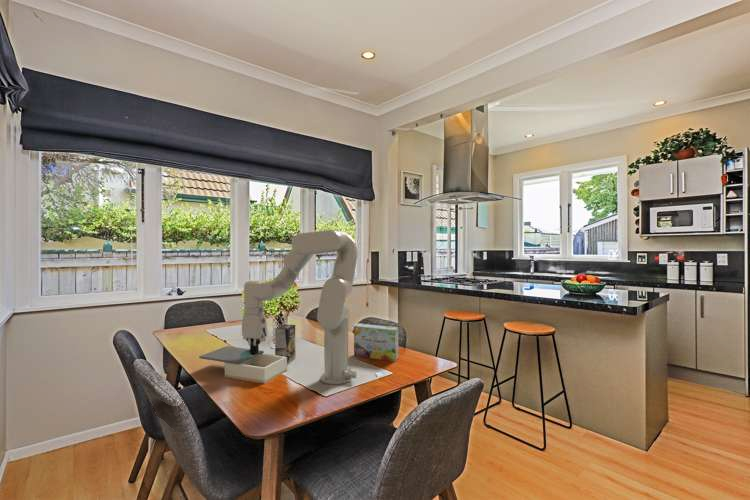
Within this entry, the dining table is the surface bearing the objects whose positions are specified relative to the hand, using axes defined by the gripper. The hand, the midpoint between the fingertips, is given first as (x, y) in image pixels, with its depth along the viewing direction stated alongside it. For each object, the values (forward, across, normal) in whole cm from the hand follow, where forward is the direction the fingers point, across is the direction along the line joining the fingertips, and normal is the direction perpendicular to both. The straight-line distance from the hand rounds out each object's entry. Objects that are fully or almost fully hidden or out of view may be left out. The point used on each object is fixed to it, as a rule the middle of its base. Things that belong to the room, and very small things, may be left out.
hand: (254, 354), depth 159 cm
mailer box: (+8, -1, 0) cm, 8 cm away
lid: (+2, +12, 0) cm, 12 cm away
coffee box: (+8, -3, -18) cm, 20 cm away
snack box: (+8, -40, -38) cm, 56 cm away
